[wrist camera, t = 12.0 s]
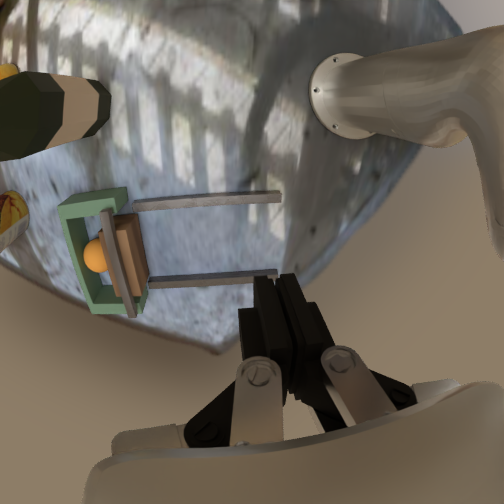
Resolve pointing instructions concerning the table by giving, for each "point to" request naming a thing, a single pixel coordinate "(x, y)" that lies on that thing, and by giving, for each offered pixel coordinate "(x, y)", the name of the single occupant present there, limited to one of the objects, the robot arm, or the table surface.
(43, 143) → the wine bottle
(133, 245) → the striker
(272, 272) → the track
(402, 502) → the robot arm
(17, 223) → the canned food
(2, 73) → the bread roll
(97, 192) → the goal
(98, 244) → the ball
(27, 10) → the table surface
